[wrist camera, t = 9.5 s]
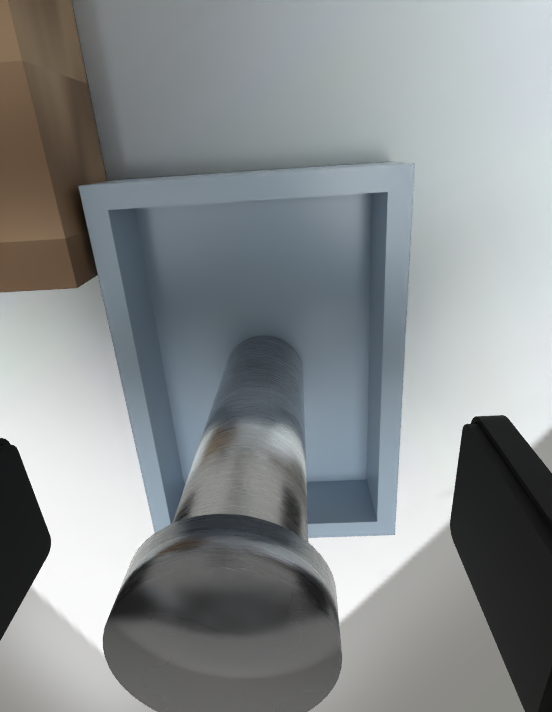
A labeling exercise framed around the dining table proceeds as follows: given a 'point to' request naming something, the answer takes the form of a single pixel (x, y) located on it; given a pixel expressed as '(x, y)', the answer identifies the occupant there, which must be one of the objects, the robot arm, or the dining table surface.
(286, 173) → the tray
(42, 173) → the block
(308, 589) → the lock pin
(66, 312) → the dining table surface
